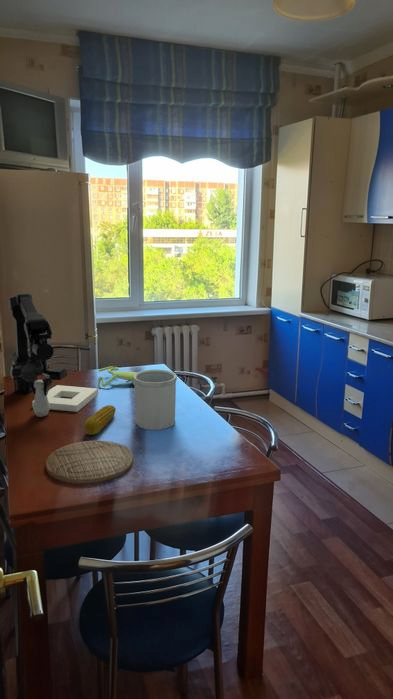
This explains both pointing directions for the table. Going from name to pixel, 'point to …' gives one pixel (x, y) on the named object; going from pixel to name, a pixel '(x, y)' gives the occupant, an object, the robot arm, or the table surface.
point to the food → (99, 420)
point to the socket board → (77, 393)
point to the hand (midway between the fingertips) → (40, 395)
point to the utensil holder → (155, 399)
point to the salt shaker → (40, 400)
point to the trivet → (89, 462)
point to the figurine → (116, 375)
